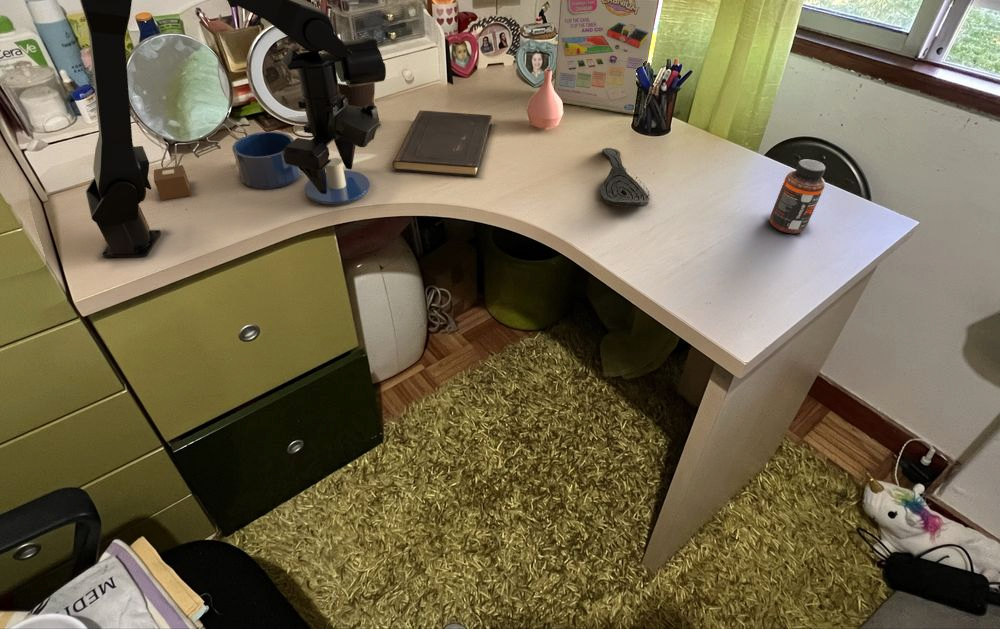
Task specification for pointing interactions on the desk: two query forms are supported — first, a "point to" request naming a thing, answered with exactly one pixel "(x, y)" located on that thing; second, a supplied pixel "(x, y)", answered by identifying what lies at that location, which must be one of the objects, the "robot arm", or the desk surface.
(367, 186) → the blue pot lid
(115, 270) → the desk surface
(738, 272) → the desk surface
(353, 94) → the coffee mug
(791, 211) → the supplement bottle
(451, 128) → the hardcover book
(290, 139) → the blue round container
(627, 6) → the game box
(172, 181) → the small brown cardboard box
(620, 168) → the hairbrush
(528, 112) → the pink vase
